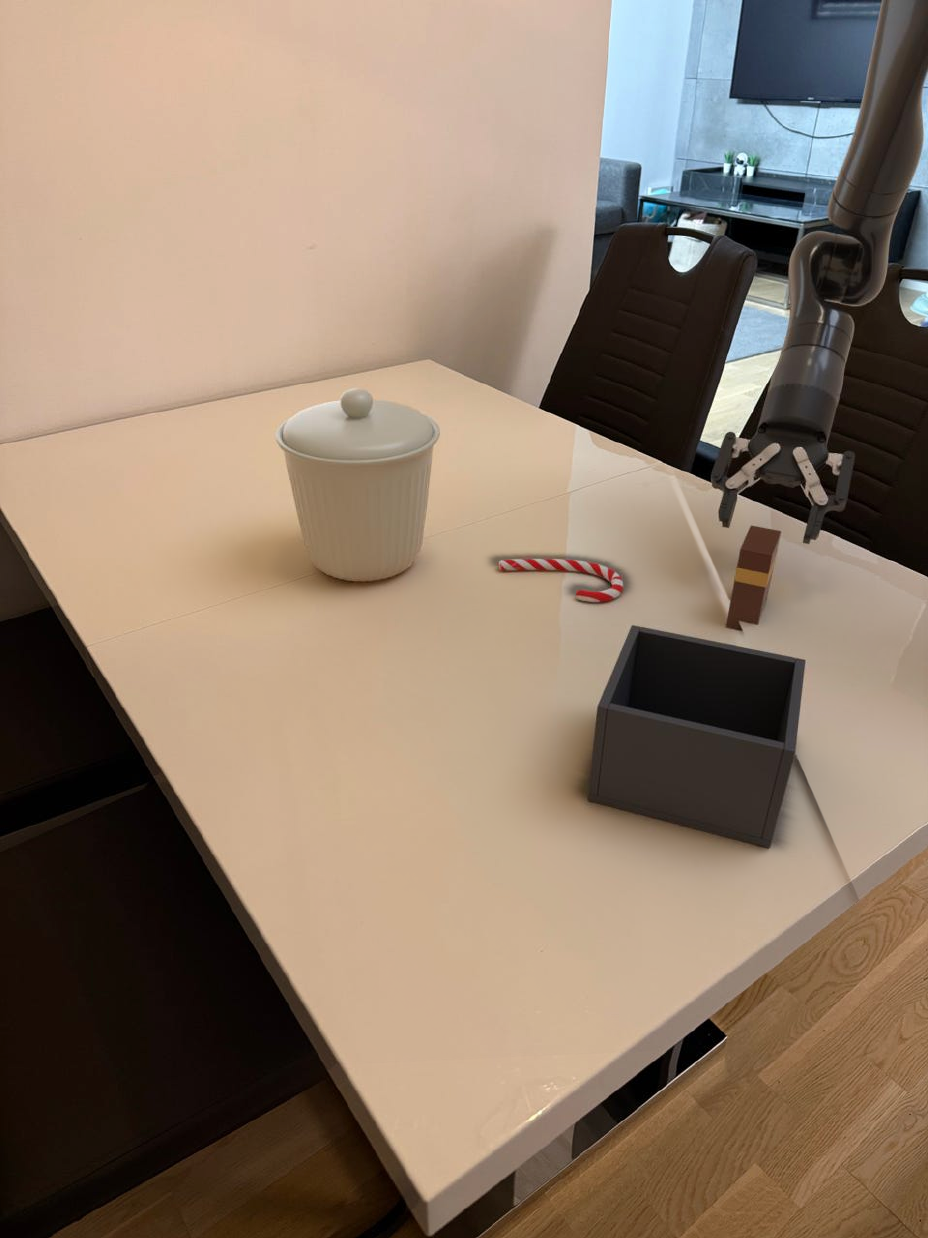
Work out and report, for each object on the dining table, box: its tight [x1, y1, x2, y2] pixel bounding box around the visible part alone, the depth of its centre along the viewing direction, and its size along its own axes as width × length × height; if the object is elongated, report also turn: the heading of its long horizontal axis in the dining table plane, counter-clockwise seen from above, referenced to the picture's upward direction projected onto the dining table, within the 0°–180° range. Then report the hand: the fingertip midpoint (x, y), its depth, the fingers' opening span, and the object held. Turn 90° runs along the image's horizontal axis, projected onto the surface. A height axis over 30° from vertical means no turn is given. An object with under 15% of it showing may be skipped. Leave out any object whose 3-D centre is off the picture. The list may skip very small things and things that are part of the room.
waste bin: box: [586, 624, 806, 849], centre depth 76 cm, size 15×13×10 cm
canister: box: [275, 387, 441, 582], centre depth 105 cm, size 18×18×21 cm
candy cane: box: [497, 558, 624, 603], centre depth 106 cm, size 8×1×15 cm
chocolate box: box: [725, 525, 782, 632], centre depth 98 cm, size 3×6×10 cm, turn 155°
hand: (765, 533), depth 99 cm, fingers open, 8 cm apart
